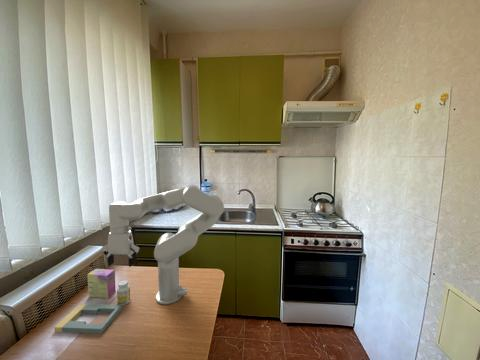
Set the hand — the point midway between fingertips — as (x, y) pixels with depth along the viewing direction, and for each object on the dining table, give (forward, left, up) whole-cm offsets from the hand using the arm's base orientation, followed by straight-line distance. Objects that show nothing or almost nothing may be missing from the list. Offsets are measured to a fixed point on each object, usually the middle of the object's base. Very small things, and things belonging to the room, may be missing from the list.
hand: (121, 264), depth 97 cm
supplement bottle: (0, 0, -19) cm, 19 cm away
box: (+14, -5, -19) cm, 24 cm away
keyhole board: (+7, +11, -19) cm, 23 cm away
